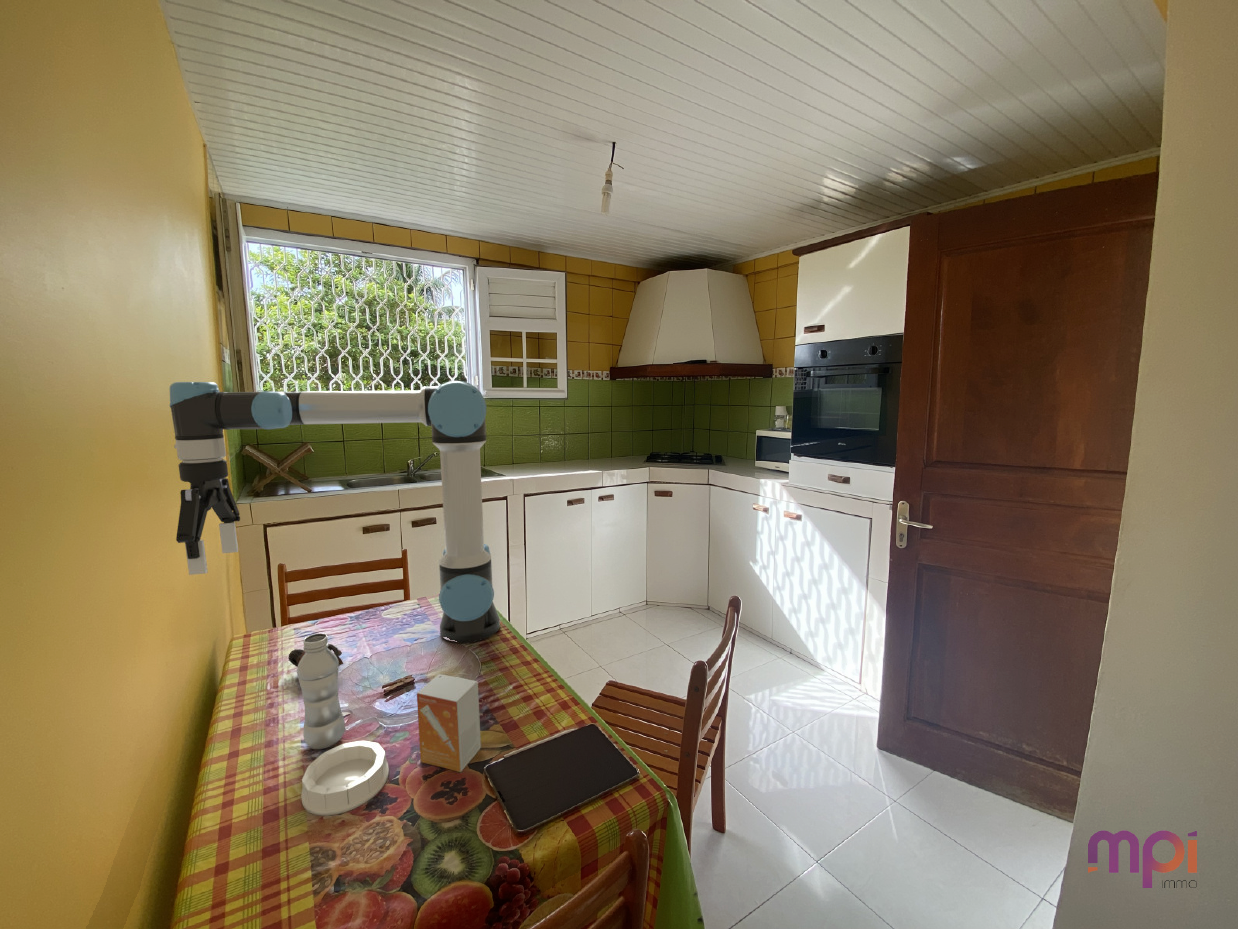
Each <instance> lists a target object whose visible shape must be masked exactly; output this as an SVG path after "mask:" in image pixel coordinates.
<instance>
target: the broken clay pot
mask: <svg viewBox="0 0 1238 929" xmlns="http://www.w3.org/2000/svg"><path fill="white" fill-rule="evenodd" d="M327 648H328V649H329V650H331V651H332V652H333V653H334V654H335V655H336V657H337V659H338V662H339V667H340V666H341V665H344V662H343V659H341V657H340V656H342V654H343V652H342V650H340V649H339V648H338V647H336V646H335V645H333V644H332V643H329V646H328V647H327ZM305 653H306V652H304V649H297V648H296V649H293V650H291V651H290V653H289V654H288V658H287V659H288V660H289V662H290V663H291V664H292V665H293V666H295V667H296V668H297V667H298V664H299V662H300V660H301V659H302V657H303V656H304V654H305Z"/></svg>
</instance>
